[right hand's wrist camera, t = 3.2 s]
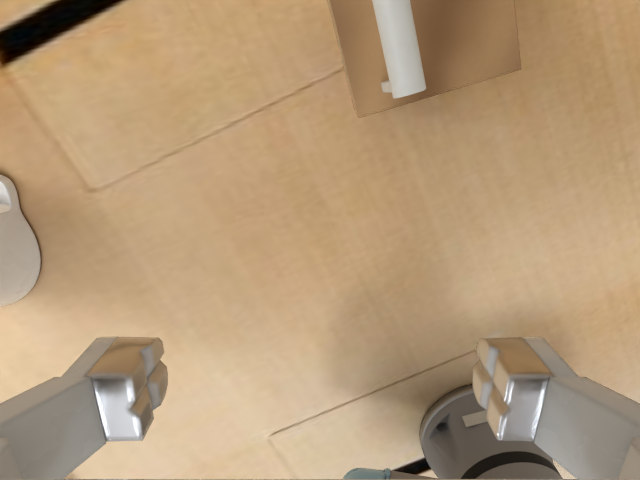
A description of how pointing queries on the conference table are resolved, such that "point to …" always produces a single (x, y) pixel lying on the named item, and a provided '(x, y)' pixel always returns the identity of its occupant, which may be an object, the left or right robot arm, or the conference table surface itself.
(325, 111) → the conference table surface
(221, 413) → the conference table surface
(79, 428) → the right robot arm
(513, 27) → the lid
